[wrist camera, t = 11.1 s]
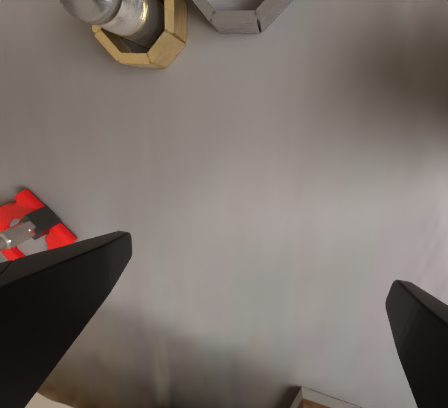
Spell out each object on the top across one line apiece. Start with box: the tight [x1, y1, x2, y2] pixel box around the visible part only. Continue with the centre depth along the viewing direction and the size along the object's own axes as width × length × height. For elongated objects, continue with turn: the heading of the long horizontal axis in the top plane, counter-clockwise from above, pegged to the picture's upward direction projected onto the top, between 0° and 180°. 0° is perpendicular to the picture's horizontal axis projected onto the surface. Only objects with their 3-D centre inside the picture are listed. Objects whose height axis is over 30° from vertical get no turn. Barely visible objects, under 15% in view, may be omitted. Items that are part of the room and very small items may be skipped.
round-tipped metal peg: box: [60, 0, 165, 48], centre depth 15 cm, size 3×3×7 cm
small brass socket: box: [92, 0, 187, 69], centre depth 18 cm, size 6×6×2 cm
